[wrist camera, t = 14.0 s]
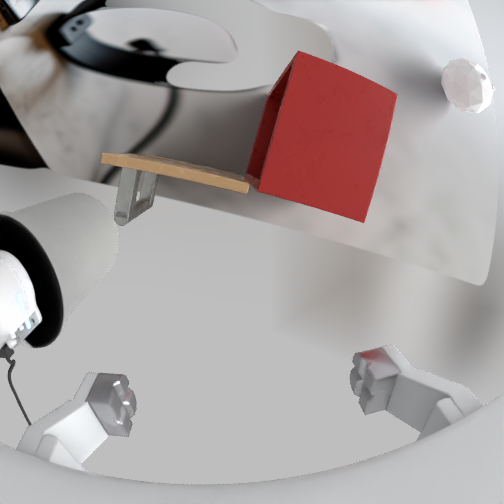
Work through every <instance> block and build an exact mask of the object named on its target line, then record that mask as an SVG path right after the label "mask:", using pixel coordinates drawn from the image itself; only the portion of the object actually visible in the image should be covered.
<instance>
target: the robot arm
mask: <svg viewBox="0 0 504 504" xmlns="http://www.w3.org/2000/svg"><path fill="white" fill-rule="evenodd" d="M41 321H42V316H41V314H40V311H39V309H38V307H37V305H36V300H35V293H34V289H33V285H32V282H31V280H30V278H29V276H28V274H27V272H26V270H25V269H24V267H23V266H22V264H21V263H20V262H19V261H18V260H17V259H16V258H15V257H14V256H13V255H12V254H10V253H8V252H6V251H3V250H0V357H1V358H6V360H7V361H8V362H9V363H10V364H11V366H10V368H9V370H8V381H9V384H10V387H11V389H12V391H13V393H14V395H15V397H16V400H17V402H18V404H19V406H20V408H21V410H22V412H23V414H24V416H25V418H26V420H27V422H28V424H29V426H28V427H27V429H26V431H25V433H24V435H23V436H22V439H21V440H20V442H19V444H18V446H17V448H16V449H14V448H11V447H9V446H7V445H5V444H3V443H0V504H504V393H503V394H501V395H500V396H498V397H497V398H495V399H494V400H493V401H491V402H489V403H488V404H486V405H484V406H482V404H481V403H480V402H479V401H478V399H476V397H475V396H474V395H473V394H472V392H471V391H470V390H469V389H468V388H467V387H466V386H463V385H460V384H458V383H455V382H452V381H449V380H447V379H444V378H441V377H439V376H436V375H434V374H431V373H428V372H426V371H423V370H420V369H418V368H415V369H413V368H412V367H411V365H410V364H409V363H408V362H407V360H406V359H405V358H404V357H403V356H402V354H401V353H400V352H399V351H398V349H397V348H396V347H395V346H394V345H392V344H389V345H386V346H382V347H379V348H375V349H371V350H367V351H363V352H358V353H355V354H354V356H353V364H354V365H355V367H354V368H353V369H352V370H351V374H350V384H351V387H352V390H353V393H354V394H355V395H357V396H359V397H360V399H359V404H360V406H361V408H362V410H363V412H364V414H365V415H367V414H371V413H374V412H378V411H381V410H385V409H386V411H388V412H389V413H391V414H392V415H394V416H395V417H397V418H399V419H400V420H402V421H403V422H405V423H407V424H408V425H410V426H411V427H413V428H415V429H416V430H418V431H420V432H421V434H420V435H419V437H418V439H417V441H415V442H413V443H411V444H408V445H406V446H403V447H401V448H398V449H395V450H393V451H390V452H387V453H384V454H382V455H379V456H376V457H373V458H370V459H367V460H363V461H360V462H357V463H353V464H350V465H346V466H343V467H339V468H334V469H330V470H326V471H322V472H317V473H312V474H307V475H302V476H297V477H291V478H284V479H277V480H270V481H261V482H251V483H239V484H217V485H186V484H166V483H153V482H144V481H136V480H129V479H122V478H116V477H110V476H105V475H100V474H95V473H90V472H87V471H86V470H85V469H84V468H83V467H82V466H81V465H80V464H81V463H82V462H83V461H84V460H85V459H86V458H87V457H88V456H89V455H90V454H91V453H92V452H93V451H94V450H95V449H96V448H97V447H98V446H99V445H100V444H101V443H102V442H103V441H104V440H105V439H106V438H107V437H108V435H114V436H124V437H125V436H126V437H129V434H130V431H131V427H132V422H131V420H130V418H131V417H133V416H134V415H135V412H136V398H135V395H134V392H133V391H132V390H131V389H130V388H128V385H129V381H128V379H127V377H126V376H125V375H123V374H108V373H94V372H89V373H87V374H86V376H85V377H84V379H83V381H82V383H81V385H80V387H79V389H78V391H77V393H76V395H75V397H74V398H73V400H69V401H67V402H65V403H64V404H62V405H61V406H59V407H58V408H56V409H55V410H53V411H52V412H50V413H49V414H47V415H46V416H44V417H42V418H41V419H39V420H38V421H36V422H35V423H33V424H31V423H30V421H29V419H28V417H27V415H26V413H25V411H24V409H23V407H22V405H21V402H20V400H19V398H18V396H17V394H16V391H15V389H14V387H13V385H12V382H11V372H12V369H13V367H14V365H15V360H12V361H11V360H10V357H11V356H12V355H13V354H14V351H13V349H12V348H16V347H17V346H18V345H19V344H20V343H21V342H22V341H23V340H24V339H25V338H26V337H27V335H28V334H29V333H30V332H31V331H32V330H33V329H34V328H35V327H36V326H37V325H38V324H39V323H40V322H41Z"/></svg>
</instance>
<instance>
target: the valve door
mask: <svg viewBox="0 0 504 504" xmlns="http://www.w3.org/2000/svg"><path fill="white" fill-rule="evenodd" d="M101 163H102V164H108V165H114V166H119V167H122V172H121V177H120V183H119V188H118V194H117V200H116V206H115V213H114V220H115V222H116V223H117V224H118V225H120V226H124V225H125V224H127V223H128V222H130V221H131V220H133V219H134V218H136V217H137V216H139V215H140V214H142V213H143V212H145V211H146V210H147V209H149V208H150V207H152V205H153V201H154V196H155V191H156V186H157V182H158V177H159V174H161V175H166V176H170V177H175V178H180V179H184V180H189V181H193V182H198V183H202V184H207V185H211V186H215V187H220V188H224V189H228V190H232V191H236V192H240V193H244V194H247V193H248V190H249V186H250V184H249V183H248V182H247V181H246V180H245V179H244V178H243V177H242V176H241V175H240V174H237V173H233V172H229V171H225V170H220V169H216V168H212V167H207V166H203V165H199V164H194V163H189V162H185V161H180V160H175V159H170V158H165V157H160V156H155V155H145V154H120V153H102V158H101ZM141 171H145V173H144V178H143V183H142V188H141V193H140V198H139V200H138V201H136V196H137V191H138V185H139V180H140V175H141ZM135 201H136V202H135Z"/></svg>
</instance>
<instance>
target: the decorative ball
mask: <svg viewBox="0 0 504 504" xmlns="http://www.w3.org/2000/svg"><path fill="white" fill-rule="evenodd" d="M441 84H442V87H443V89H444V92H445V94H446V97H447V99H448V100H449V101H450V102H451V103H453V104H454V105H455V106H456V107H457V108H459V109H460V110H462V111H467V112H476V113H478V112H480V111H482V110H483V109H484V108H486V107H487V106H489V105H490V102H491V97H492V92H493V91H494V90H495V87H494V85H492V84H491V83H490V81H489V78H488V76H487V74H486V73H485V72H484V70H483V69H482V68H481V67H480V66H479V64H477V63H474V62H472V61H469V60H467V59H464V58H462V59H457V60H452V61H450V62H449V63H448V64H447V65H446V66H445V68H444V71H443V75H442V80H441Z"/></svg>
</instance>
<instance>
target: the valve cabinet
mask: <svg viewBox="0 0 504 504" xmlns="http://www.w3.org/2000/svg"><path fill="white" fill-rule="evenodd" d="M397 96H398V94H396V93H394V92H392V91H391V90H389V89H387V88H385V87H383V86H381V85H379V84H377V83H375V82H373V81H371V80H369V79H367V78H365V77H363V76H361V75H358V74H356V73H354V72H352V71H349V70H347V69H345V68H343V67H340V66H338V65H335V64H333V63H330V62H328V61H325V60H323V59H320V58H317V57H314V56H312V55H309V54H306V53H303V52H301V51H298V52H297V53H296V55H295V56H294V57H293V59H292V60H291V62H290V63H289V64H288V66H287V67H286V69H285V70H284V72H283V73H282V75H281V76H280V77H279V79H278V81H277V82H276V83H275V85H274V86H273V88H272V89H271V91H270V92H269V94H268V97H267V101H266V104H265V107H264V111H263V114H262V118H261V121H260V125H259V128H258V131H257V135H256V138H255V142H254V146H253V149H252V153H251V156H250V160H249V163H248V167H247V171H246V174H245V178H244V179H246V180H247V181H248V182H249V183H250V184H251V185H252V186H253V187H254V188H255V189H256V190H257V191H258V192H261V193H265V194H269V195H273V196H276V197H280V198H283V199H287V200H290V201H294V202H297V203H301V204H304V205H308V206H311V207H315V208H318V209H321V210H325V211H328V212H331V213H334V214H337V215H341V216H344V217H347V218H350V219H353V220H356V221H359V222H362V223H364V221H365V218H366V215H367V212H368V209H369V206H370V203H371V199H372V196H373V193H374V189H375V186H376V183H377V179H378V175H379V172H380V168H381V165H382V161H383V157H384V153H385V149H386V145H387V141H388V137H389V133H390V129H391V124H392V120H393V115H394V111H395V106H396V101H397Z"/></svg>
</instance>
